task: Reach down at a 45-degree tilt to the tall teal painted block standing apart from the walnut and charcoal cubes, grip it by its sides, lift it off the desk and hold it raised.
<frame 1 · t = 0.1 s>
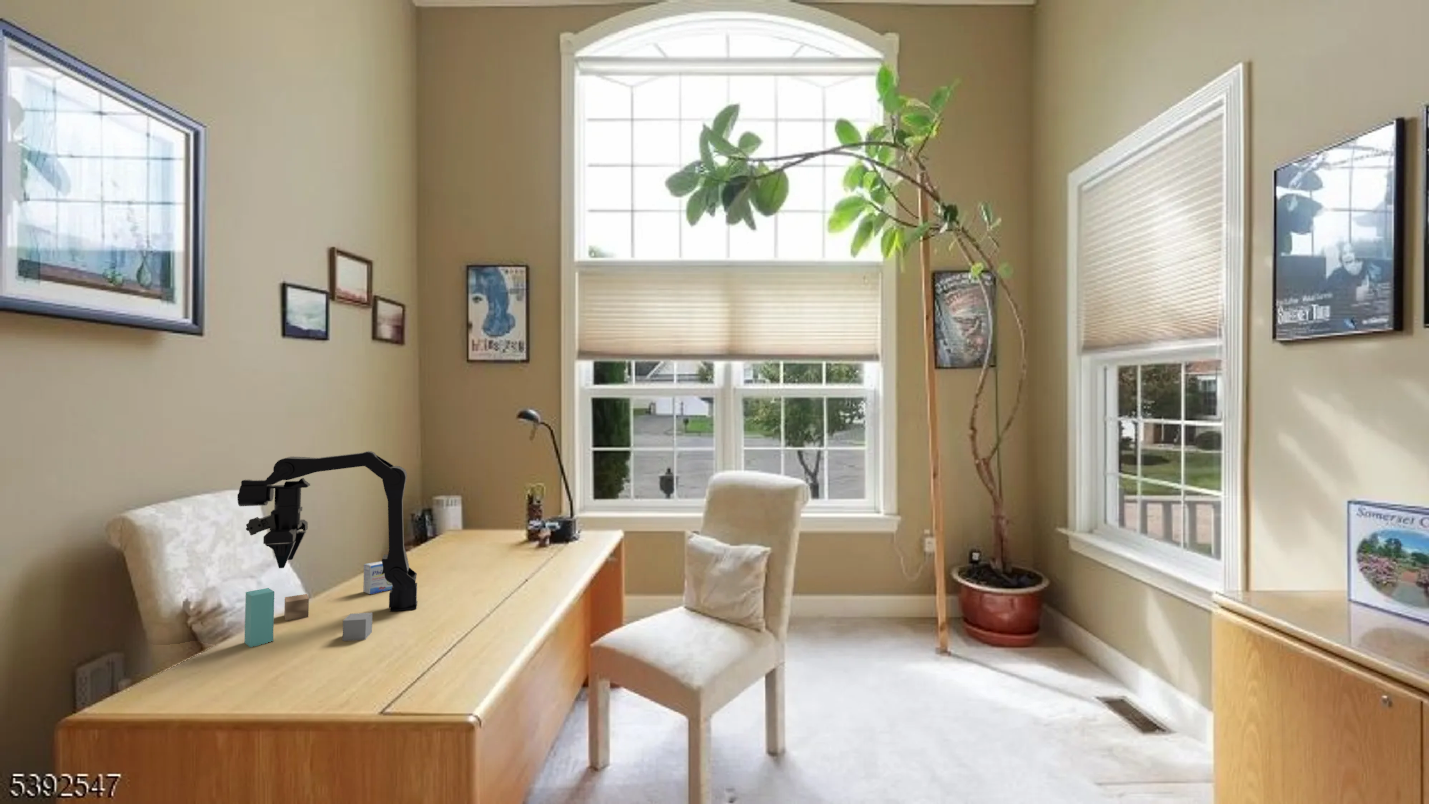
hand: (285, 563, 161), 15 cm above the table, tool pointing down, fingers open, 9 cm apart
medicine box: (379, 591, 187), on the table
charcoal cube: (357, 636, 150), on the table
walnut cube: (296, 616, 163), on the table
teal block: (258, 642, 145), on the table
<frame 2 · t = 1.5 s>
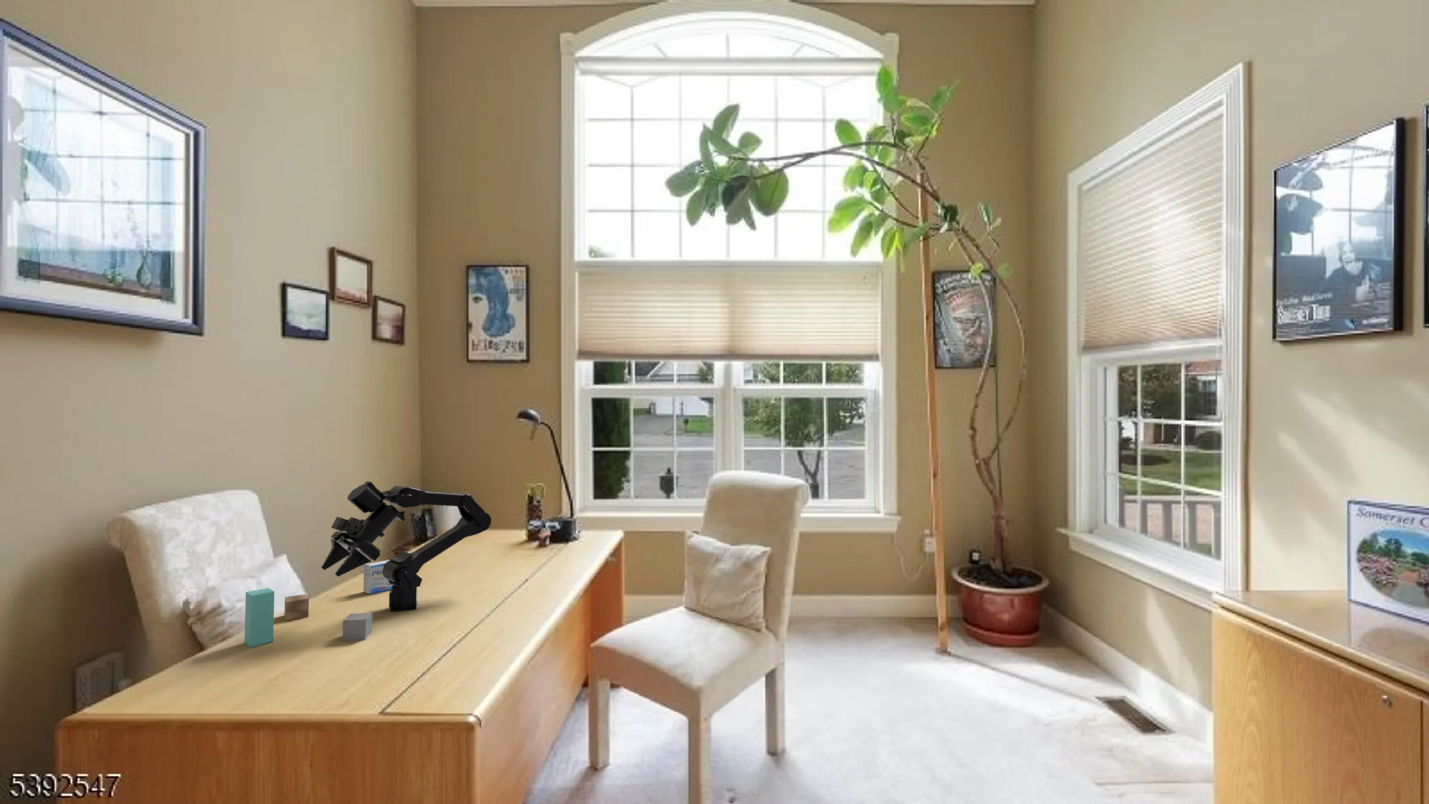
hand: (329, 572, 157), 14 cm above the table, tool tilted 45°, fingers open, 9 cm apart
nothing on the table moved.
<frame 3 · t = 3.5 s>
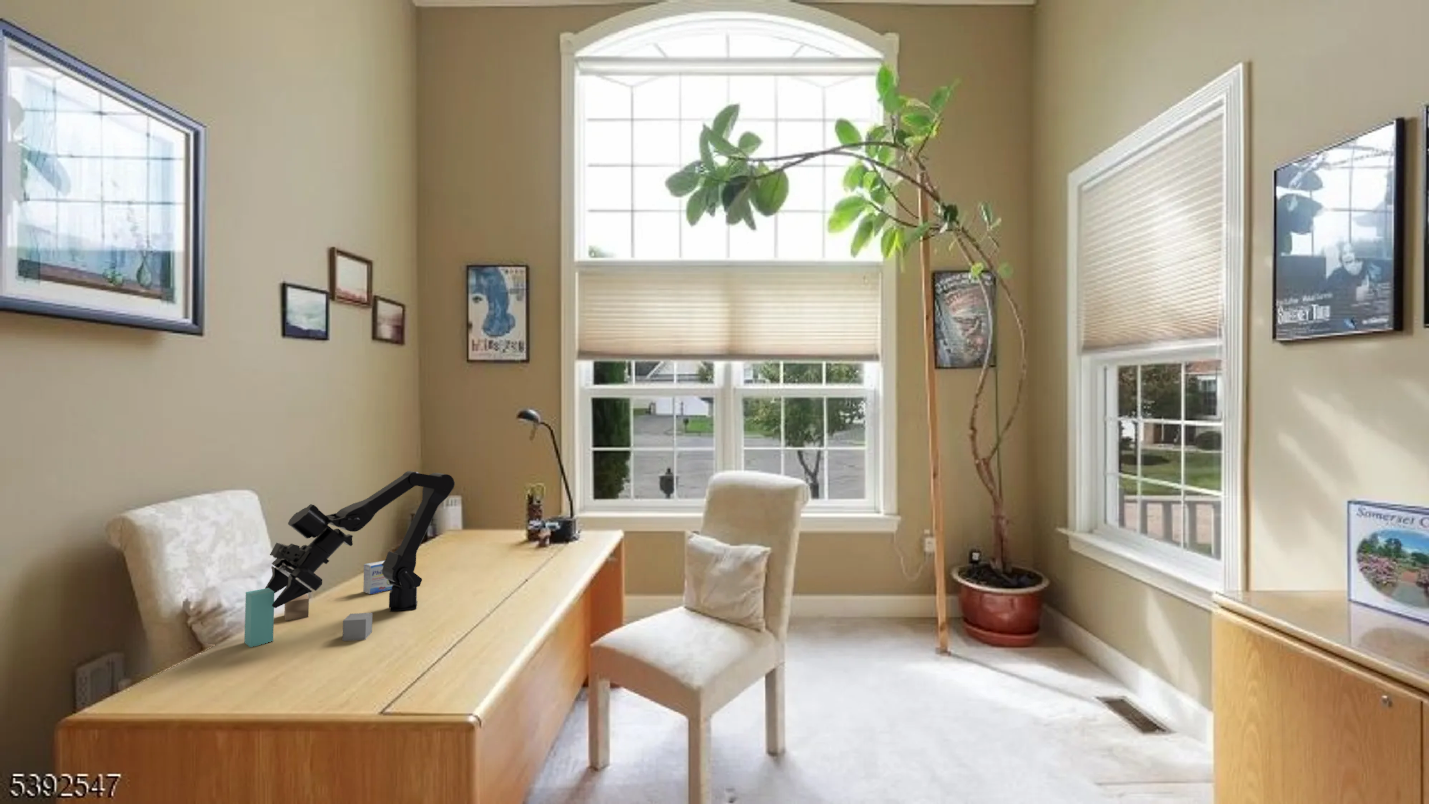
hand: (267, 602, 147), 9 cm above the table, tool tilted 45°, fingers open, 9 cm apart
nothing on the table moved.
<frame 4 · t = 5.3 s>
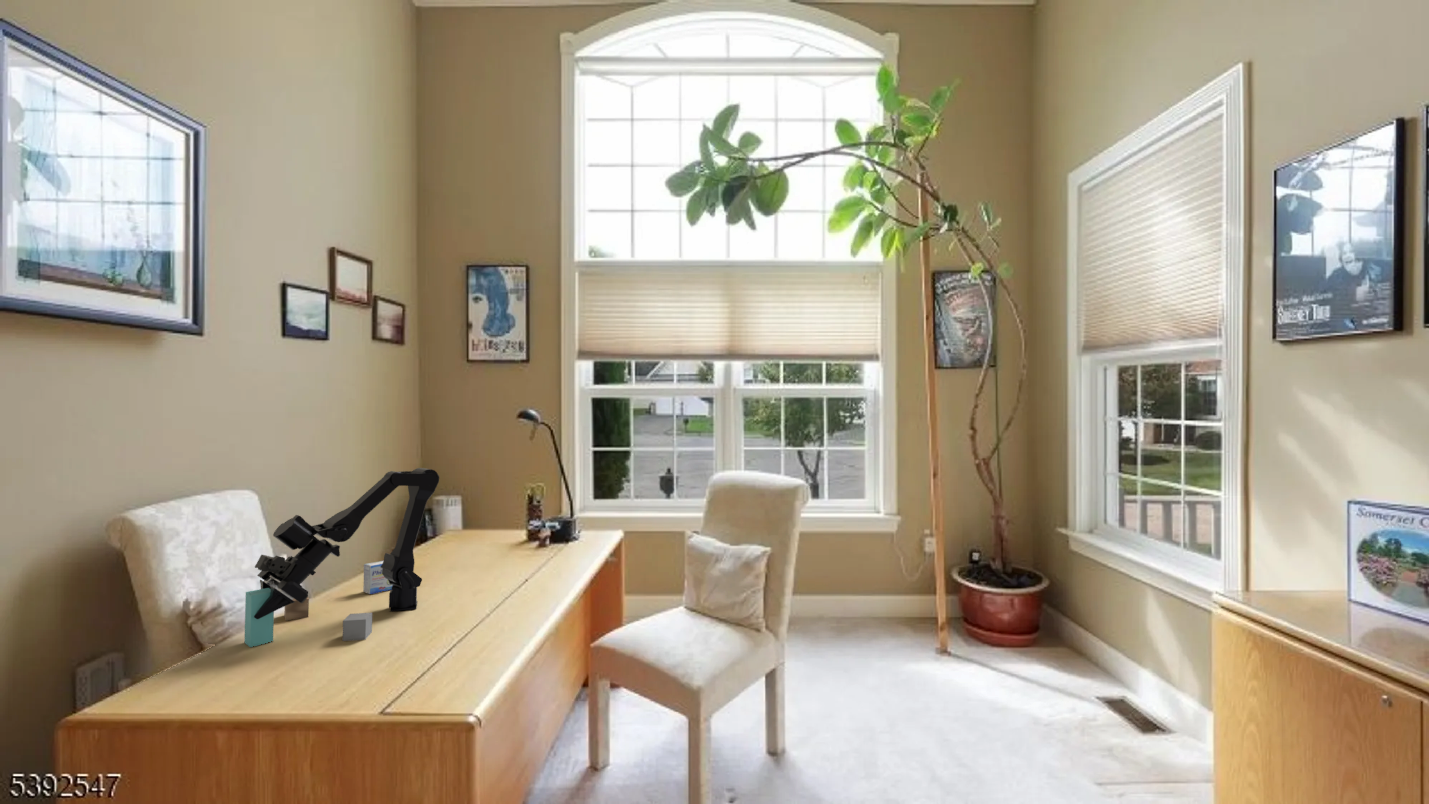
hand: (252, 615, 144), 7 cm above the table, tool tilted 45°, fingers closed on teal block, 4 cm apart
teal block: (258, 642, 145), on the table, touching gripper
everything else where it was.
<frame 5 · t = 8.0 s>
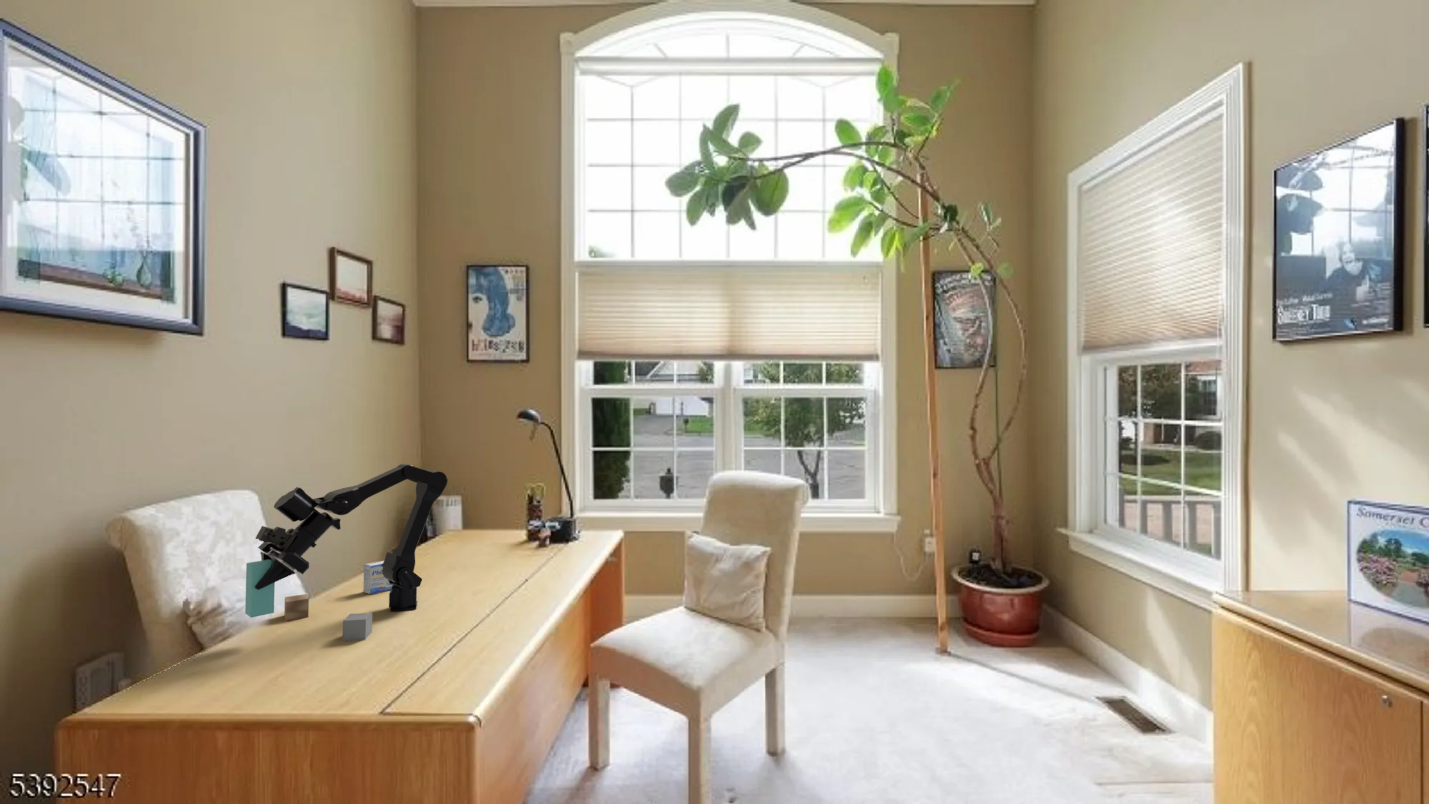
hand: (253, 586, 144), 13 cm above the table, tool tilted 45°, fingers closed on teal block, 4 cm apart
teal block: (259, 613, 145), point 7 cm above the table, touching gripper
everything else where it was.
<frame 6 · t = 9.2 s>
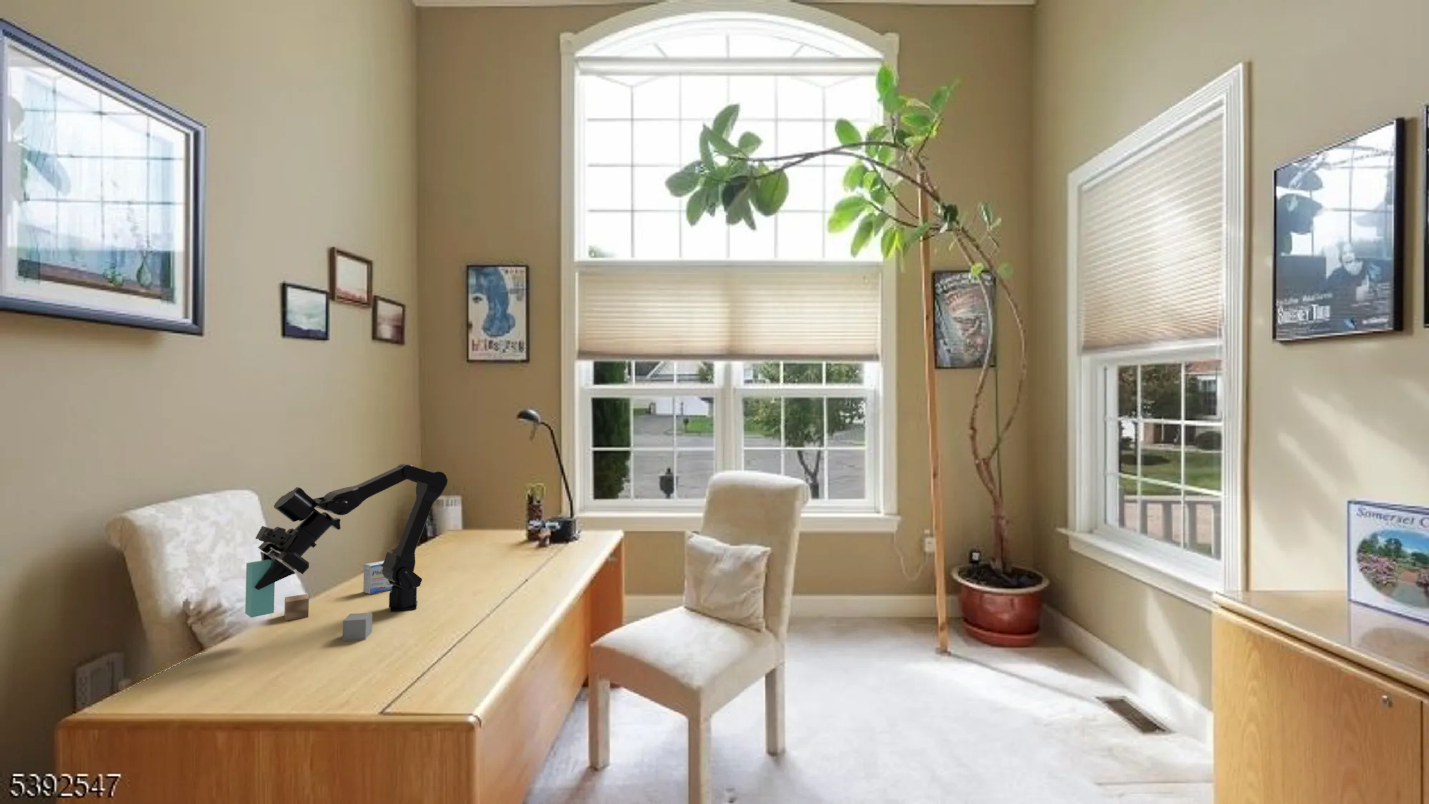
hand: (253, 586, 144), 13 cm above the table, tool tilted 45°, fingers closed on teal block, 4 cm apart
teal block: (259, 613, 145), point 7 cm above the table, touching gripper
everything else where it was.
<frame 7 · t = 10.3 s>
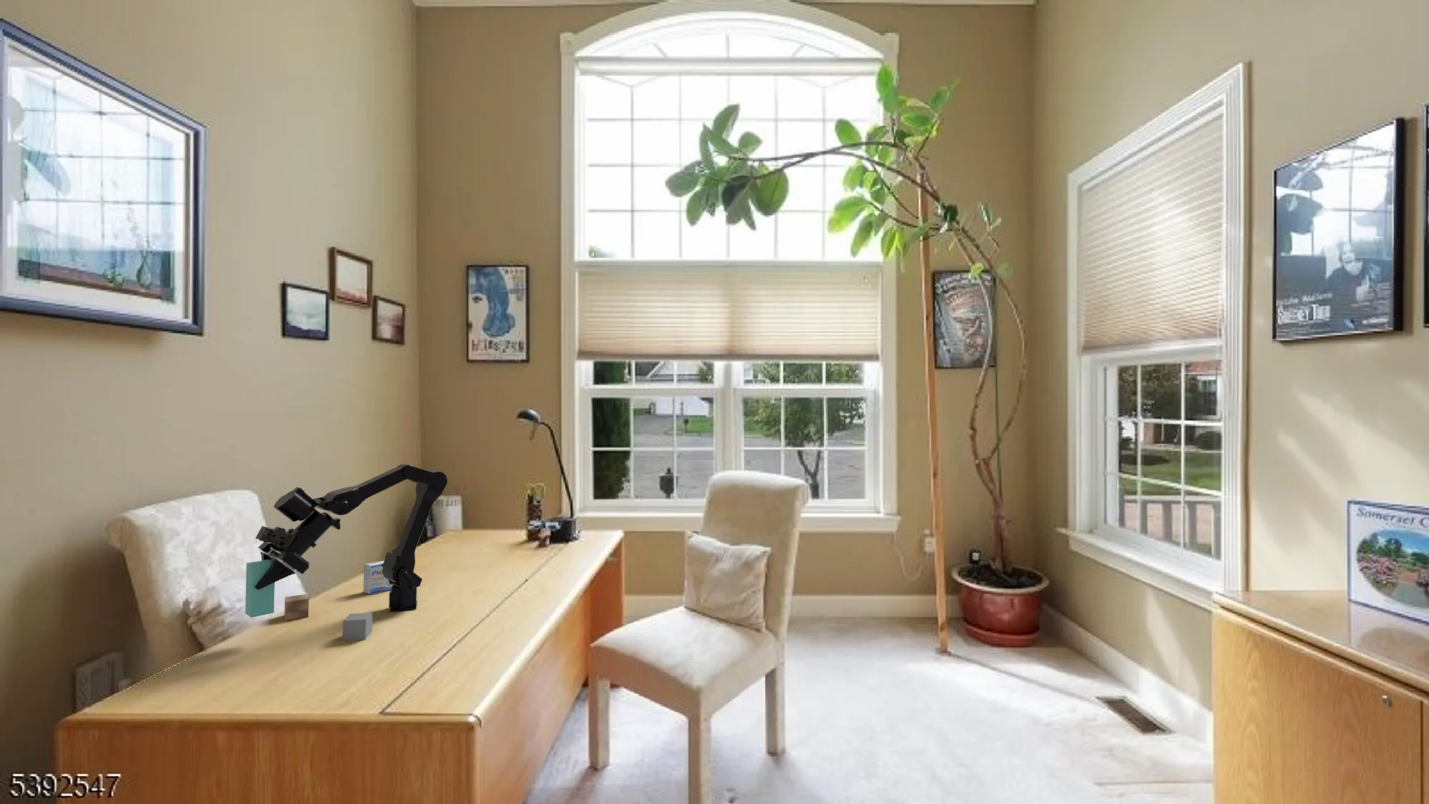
hand: (253, 586, 144), 13 cm above the table, tool tilted 45°, fingers closed on teal block, 4 cm apart
teal block: (259, 613, 145), point 7 cm above the table, touching gripper
everything else where it was.
at the end: the gripper is holding teal block; teal block point 6.9 cm above the table; walnut cube moved 0.1 cm from its start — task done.
